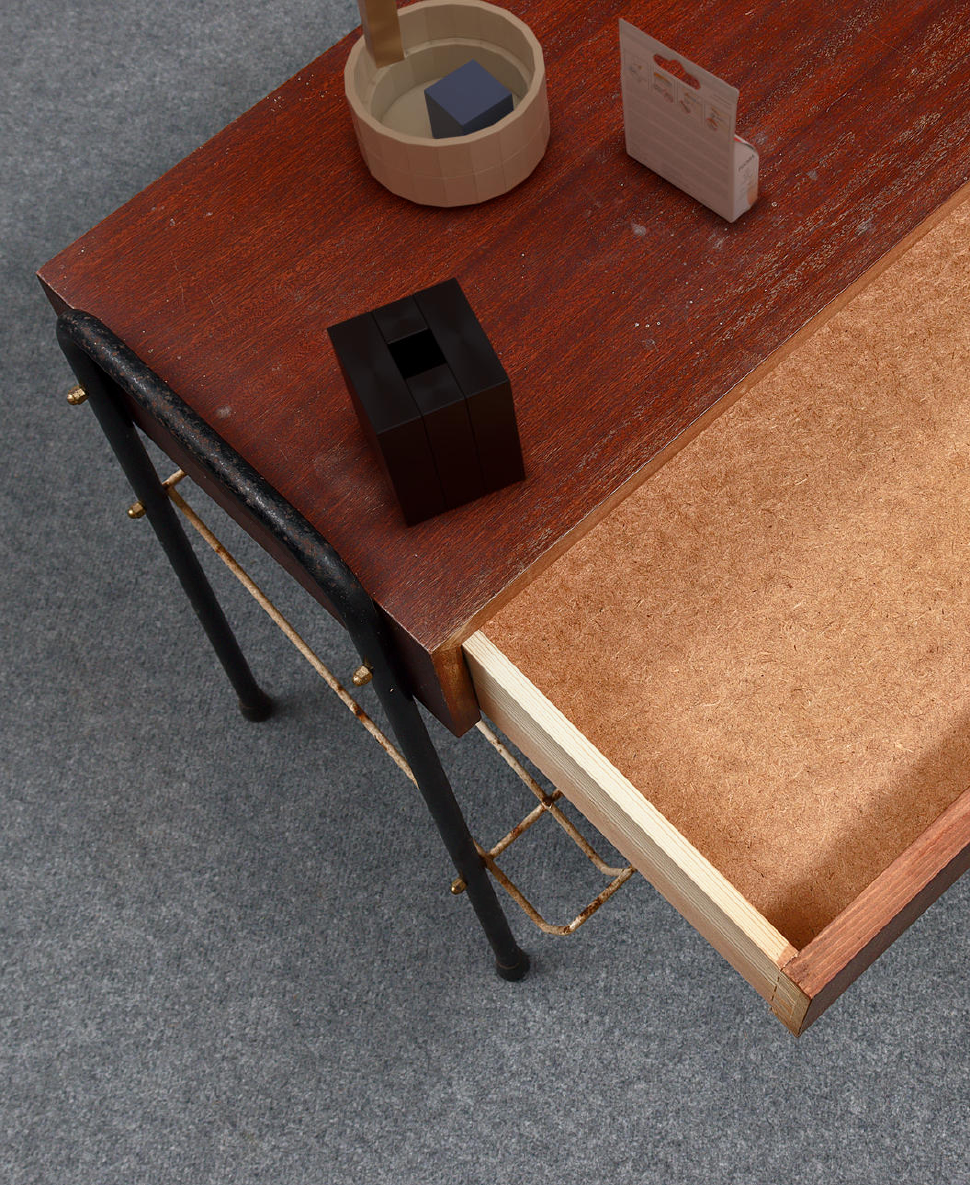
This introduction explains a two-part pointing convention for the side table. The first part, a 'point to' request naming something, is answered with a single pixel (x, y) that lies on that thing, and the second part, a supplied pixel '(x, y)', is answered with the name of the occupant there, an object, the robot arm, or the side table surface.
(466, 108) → the block
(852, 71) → the side table surface
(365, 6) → the stick
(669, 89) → the ink box
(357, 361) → the stand
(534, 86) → the bowl
